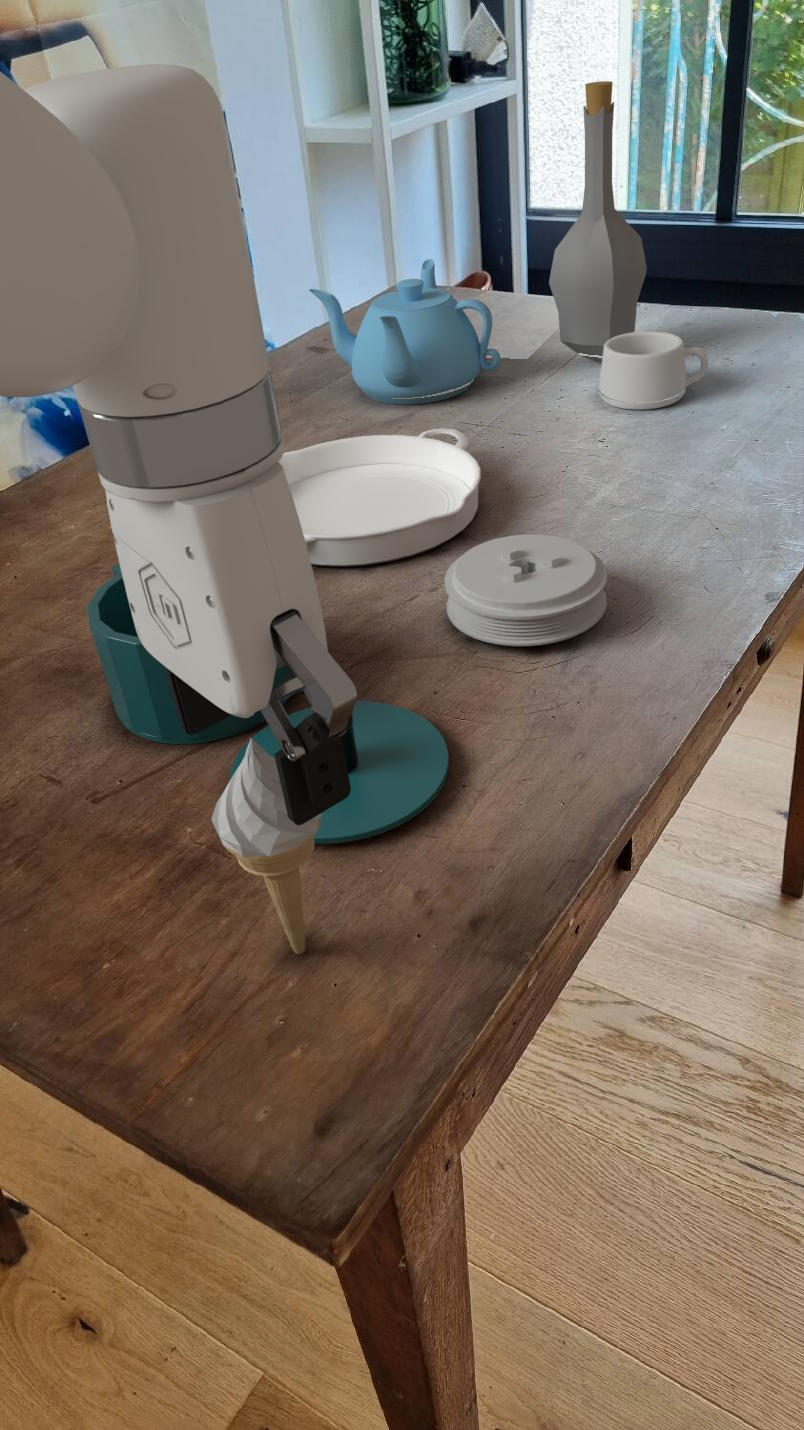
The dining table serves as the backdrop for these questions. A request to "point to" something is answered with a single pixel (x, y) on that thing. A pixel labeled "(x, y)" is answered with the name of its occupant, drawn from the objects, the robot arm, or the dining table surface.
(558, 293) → the bottle
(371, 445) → the pan
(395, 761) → the pot lid
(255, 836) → the ice cream cone
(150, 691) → the pot
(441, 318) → the teapot
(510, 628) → the lid
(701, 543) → the dining table surface
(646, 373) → the mug
